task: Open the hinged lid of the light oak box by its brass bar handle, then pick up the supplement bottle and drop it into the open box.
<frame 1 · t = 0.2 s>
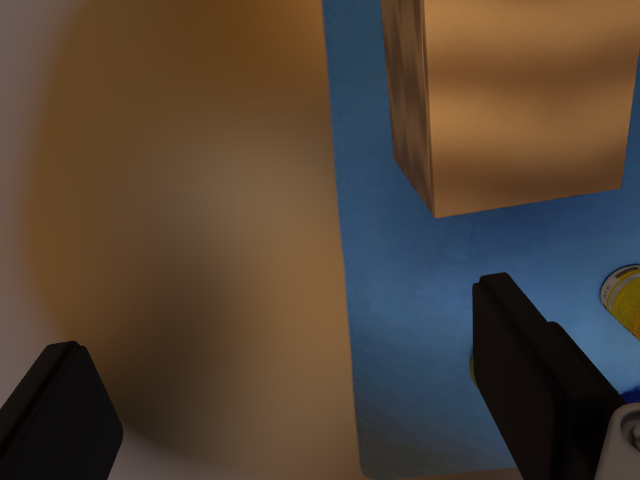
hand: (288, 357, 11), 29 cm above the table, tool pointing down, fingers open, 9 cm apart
lid: (551, 73, 23), point 15 cm above the table, hinge at 0.0°
supplement bottle: (624, 286, 47), on the table
chest: (458, 56, 37), on the table
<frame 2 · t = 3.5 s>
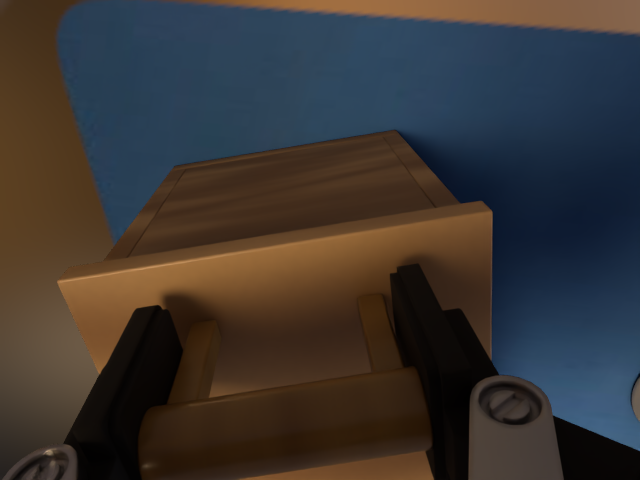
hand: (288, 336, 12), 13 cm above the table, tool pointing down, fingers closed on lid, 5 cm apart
chest: (308, 273, 27), on the table
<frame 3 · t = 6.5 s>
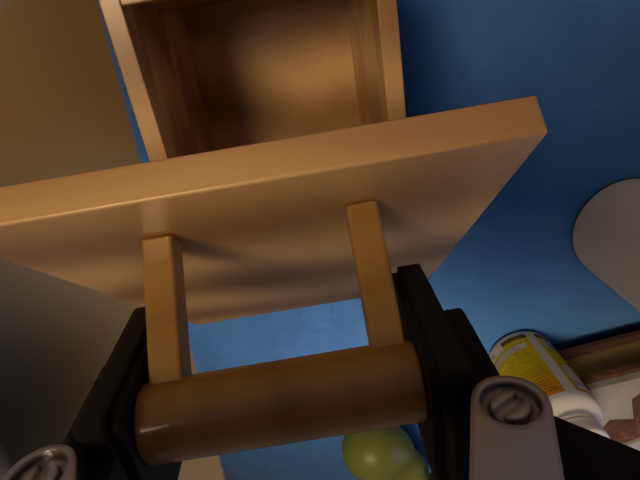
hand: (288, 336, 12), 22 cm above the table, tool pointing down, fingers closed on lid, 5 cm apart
lid: (298, 330, 15), point 20 cm above the table, hinge at 48.5°, touching gripper
supplement bottle: (516, 352, 42), on the table
chest: (283, 105, 31), on the table
pear: (354, 435, 40), point 3 cm above the table
pill bottle: (618, 223, 37), on the table
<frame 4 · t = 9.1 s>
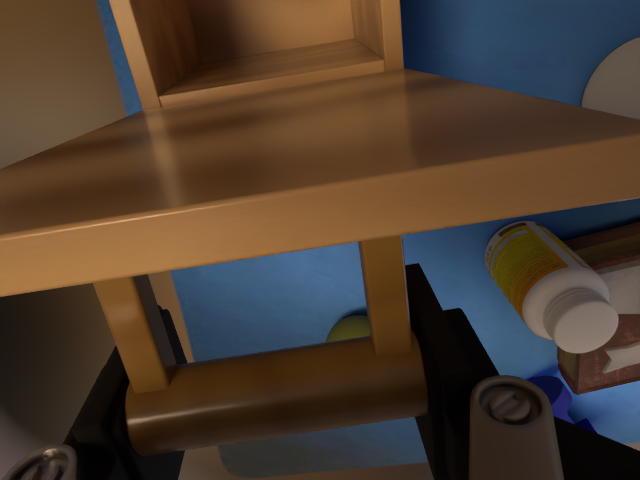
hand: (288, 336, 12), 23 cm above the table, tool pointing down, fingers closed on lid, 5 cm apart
lid: (275, 210, 14), point 20 cm above the table, hinge at 85.0°, touching gripper
supplement bottle: (515, 248, 38), on the table
pear: (337, 331, 37), point 3 cm above the table
pill bottle: (632, 93, 33), on the table
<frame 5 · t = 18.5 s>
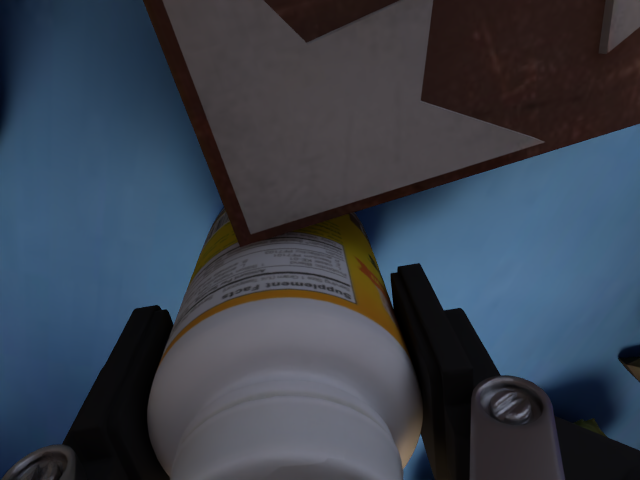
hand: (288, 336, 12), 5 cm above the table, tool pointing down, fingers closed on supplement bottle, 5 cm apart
supplement bottle: (289, 247, 17), on the table, touching gripper
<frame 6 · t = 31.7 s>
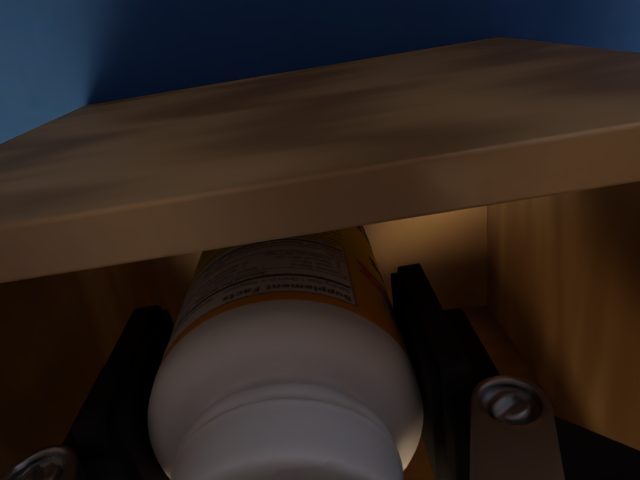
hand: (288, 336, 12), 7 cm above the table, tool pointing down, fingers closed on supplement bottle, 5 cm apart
supplement bottle: (289, 249, 17), point 2 cm above the table, touching gripper
chest: (316, 218, 19), on the table
when the fingers open (10 cm above the table, at t = 44.3 s): supplement bottle drops 4 cm, resting on chest.
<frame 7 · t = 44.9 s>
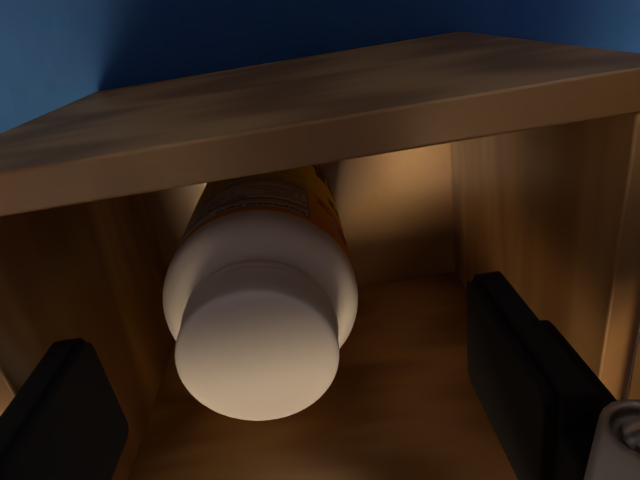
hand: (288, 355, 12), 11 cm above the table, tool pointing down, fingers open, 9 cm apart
supplement bottle: (270, 203, 21), point 1 cm above the table, touching chest
chest: (301, 193, 21), on the table
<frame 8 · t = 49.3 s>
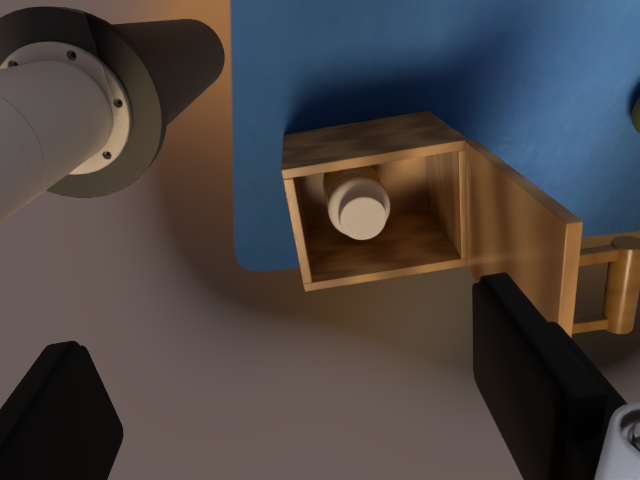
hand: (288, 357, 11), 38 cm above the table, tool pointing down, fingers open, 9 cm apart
lid: (543, 246, 32), point 20 cm above the table, hinge at 88.8°
supplement bottle: (349, 179, 49), point 1 cm above the table, touching chest
chest: (362, 175, 50), on the table
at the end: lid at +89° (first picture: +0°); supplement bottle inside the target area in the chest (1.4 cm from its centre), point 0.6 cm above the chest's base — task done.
